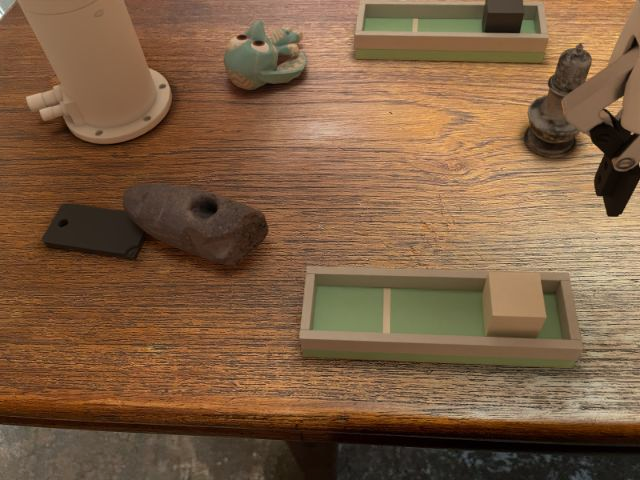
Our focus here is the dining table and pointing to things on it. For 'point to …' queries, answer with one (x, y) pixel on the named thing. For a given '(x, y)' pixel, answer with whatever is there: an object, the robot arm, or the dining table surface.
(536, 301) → the beige cube
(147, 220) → the perforated stone tool
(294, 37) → the teal creature figurine
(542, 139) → the chess piece
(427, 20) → the green beige rectangular tray
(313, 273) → the tray
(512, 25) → the dark brown cube
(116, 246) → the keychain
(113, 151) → the dining table surface
